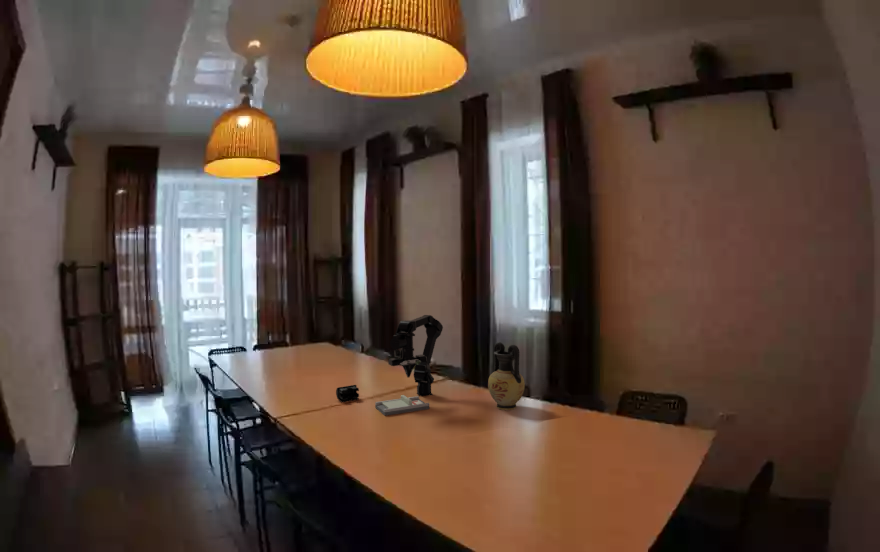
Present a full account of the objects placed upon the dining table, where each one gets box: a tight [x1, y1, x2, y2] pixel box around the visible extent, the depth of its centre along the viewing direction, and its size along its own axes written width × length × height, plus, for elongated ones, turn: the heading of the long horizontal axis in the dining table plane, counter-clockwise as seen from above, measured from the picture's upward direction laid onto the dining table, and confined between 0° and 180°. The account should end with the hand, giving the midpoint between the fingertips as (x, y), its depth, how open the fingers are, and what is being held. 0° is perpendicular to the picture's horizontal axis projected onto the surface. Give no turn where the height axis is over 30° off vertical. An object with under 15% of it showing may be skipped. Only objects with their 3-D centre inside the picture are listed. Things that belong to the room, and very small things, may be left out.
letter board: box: [374, 395, 430, 416], centre depth 241 cm, size 22×14×3 cm, turn 114°
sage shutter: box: [382, 394, 412, 409], centre depth 239 cm, size 11×11×3 cm
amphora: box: [487, 342, 526, 411], centre depth 238 cm, size 18×17×30 cm
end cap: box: [335, 384, 360, 403], centre depth 258 cm, size 10×7×7 cm
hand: (408, 377), depth 253 cm, fingers closed
